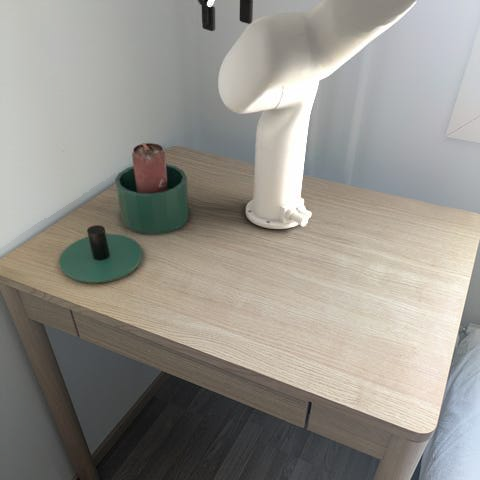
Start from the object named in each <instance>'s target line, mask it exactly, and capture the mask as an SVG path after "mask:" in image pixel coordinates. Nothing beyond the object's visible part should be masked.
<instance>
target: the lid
mask: <svg viewBox="0 0 480 480" xmlns="http://www.w3.org/2000/svg"><path fill="white" fill-rule="evenodd" d="M86 232H87V236H86V237H84V238H80V239H78V240H76V241H74V242H73V243H71V244H69V245H68V246H67V247H66V248H65V249H64V250H63V251H62V252H61V255H60V257H59V266H60V269H61V271H62V273H64V275H66V277H69V278H70V279H72V280H75V281H78V282H83V283H94V284H95V283H105V282H107V283H108V282H110V281H114V280H118V279H121V278H124V277H125V276H127V275H129V274H130V273H132V272H133V271H135V269H136V268H138V267H139V265H140V264H141V262H142V259H143V250H142V247H141V245H140V244H139V243H138V242H137V241H136V240H134V239H132V238H130V237H128V236H126V235H121V234H117V233H115V234H113V233H106V228H105V227H104V226H103V225H99V224H95V225H91V226H89V227H88V228H87V229H86Z"/></svg>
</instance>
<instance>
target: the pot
mask: <svg viewBox="0 0 480 480" xmlns="http://www.w3.org/2000/svg"><path fill="white" fill-rule="evenodd" d="M166 171H167V182H168V190H167V191H164V192H158V193H137V187H136V180H135V173H134V165H133V166H128V167H127V168H124V170H122V171H120V172H119V173H117V176H116V178H114V179H115V180H114V181H115V188H116V194H117V201H118V206H119V212H120V217H121V221H122V224H123V226H124V227H126V229H128V230H130V231H132V232H134V233H138V234H141V235H142V234H143V235H162V234H167V233H170V232H174V231H176V230H178V229H180V228H181V227H183V226H184V225H185V224H186V223H187V222H188V220H189V213H190V208H189V207H190V206H189V192H188V191H189V190H188V176H187V175H186V173H185V171H184V170H183V169H181V168H179V167H178V166H176V165H171V164H168V163H166Z"/></svg>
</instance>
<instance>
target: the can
mask: <svg viewBox="0 0 480 480" xmlns="http://www.w3.org/2000/svg"><path fill="white" fill-rule="evenodd" d="M131 156H132V165H133V166H134V173H135V180H136V187H137V193H158V192H164V191H167V190H168V182H167V171H166V164H167V160H166V152H165V150H164V148H163V146H162V145H160V144H158V143H151V142H149V143H148V142H147V143H146V142H143V143H141V144H137V145H136V146H135V147H134V148H133V150H132V154H131Z"/></svg>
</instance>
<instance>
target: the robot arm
mask: <svg viewBox="0 0 480 480" xmlns="http://www.w3.org/2000/svg"><path fill="white" fill-rule="evenodd" d="M197 2H198V4H199V5H200V6H201V24H202V25H201V26H202V29H203V30H206V31H210V32H215V30H216V7H215V6H214V5H213V4H214V2H215V0H197ZM417 2H418V0H319V2H318V3H317V4H316V5H314V6H313V7H312V8H309V9H307V10H306V9H305V10H300V11H293V12H282V13H274V14H267V15H264V16H261V17H259V18H257V19H255V20H253V14H254V0H239V22H240V23H245V24H247V26H246V28H245V29H244V30H243V32H242V33H241V34H240V36H239V37H238V38H237V40H236V41H235V42H234V44H233V45H232V47H231V48H230V49H229V50H228V52H227V54H226V55H225V56H224V58H223V60H222V63H221V64H220V68H219V71H218V77H217V87H218V94H219V96H220V99H221V101H222V104H223V105H224V106H225V107H226V108H227V109H228V110H230V111H231V112H233V113H234V114H239V115H243V114H244V115H245V114H252V113H258V112H261V114H260V117H259V120H258V123H257V125H256V130H255V147H254V148H255V150H254V172H253V173H254V175H253V198H252V199H251V200H250V201H248V203H247V204H246V206H245V216H246V218H247V220H248V221H250V222H251V223H252V224H254V225H256V226H258V227H261V228H265V229H269V230H283V229H284V230H285V229H291V228H294V227H297V226H298V225H299V226H301V227H306V226H307V224H308V222H309V219H310V218H311V217H312V212H311V211H310V210H307V209H306V206H305V205H304V203H305V199H304V198H303V197H301V193H302V185H303V175H304V166H305V165H304V164H305V158H306V157H305V156H306V149H307V148H306V147H307V139H308V138H307V137H308V131H309V125H310V124H309V123H310V116H311V112H312V109H313V104H314V101H315V98H316V95H317V92H318V88H319V83H320V81H321V80H323V79H325V78H328V77H329V76H330V75H332V74H333V73H334V72H335V71H337V70H338V69H339V68H340V67H341V66H342V65H344V64H346V63H347V61H349V60H350V59H351V58H353V57H354V56H355V55H357V53H359V52H361V50H363V48H365V46H367V45H368V44H369V43H370V42H372V41H373V40H374V39H375V38H377V37H378V36H380V35H381V34H382V33H384V32H385V31H386V30H388V29H390V27H392V26H393V25H394V24H395V23H397V22H398V21H399V20H400V19H401V18H402V17H404V16H405V15H406V14H407V13H408V12H409V11H410V10H411V9H412V7H413V6H414V5H415V4H416V3H417Z"/></svg>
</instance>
